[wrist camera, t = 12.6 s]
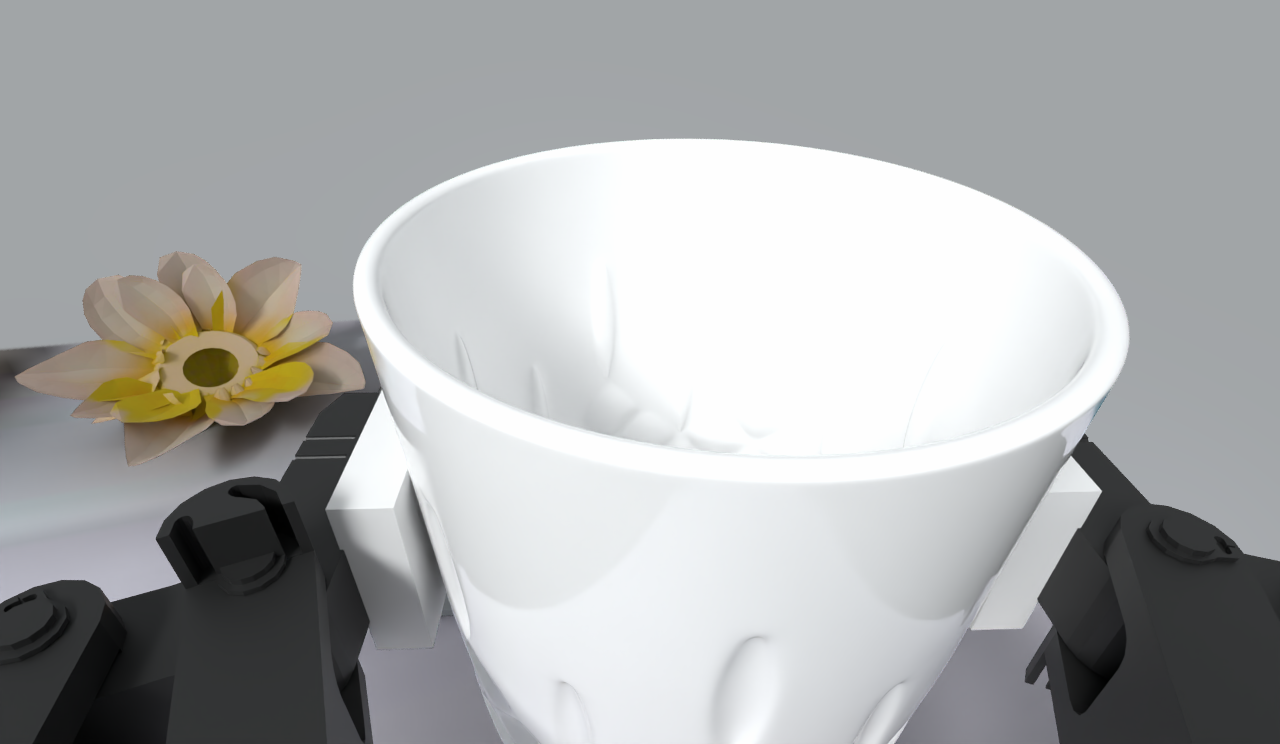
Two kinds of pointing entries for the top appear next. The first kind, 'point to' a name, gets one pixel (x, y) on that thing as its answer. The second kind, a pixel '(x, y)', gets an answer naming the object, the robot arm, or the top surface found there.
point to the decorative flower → (194, 352)
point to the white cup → (726, 427)
